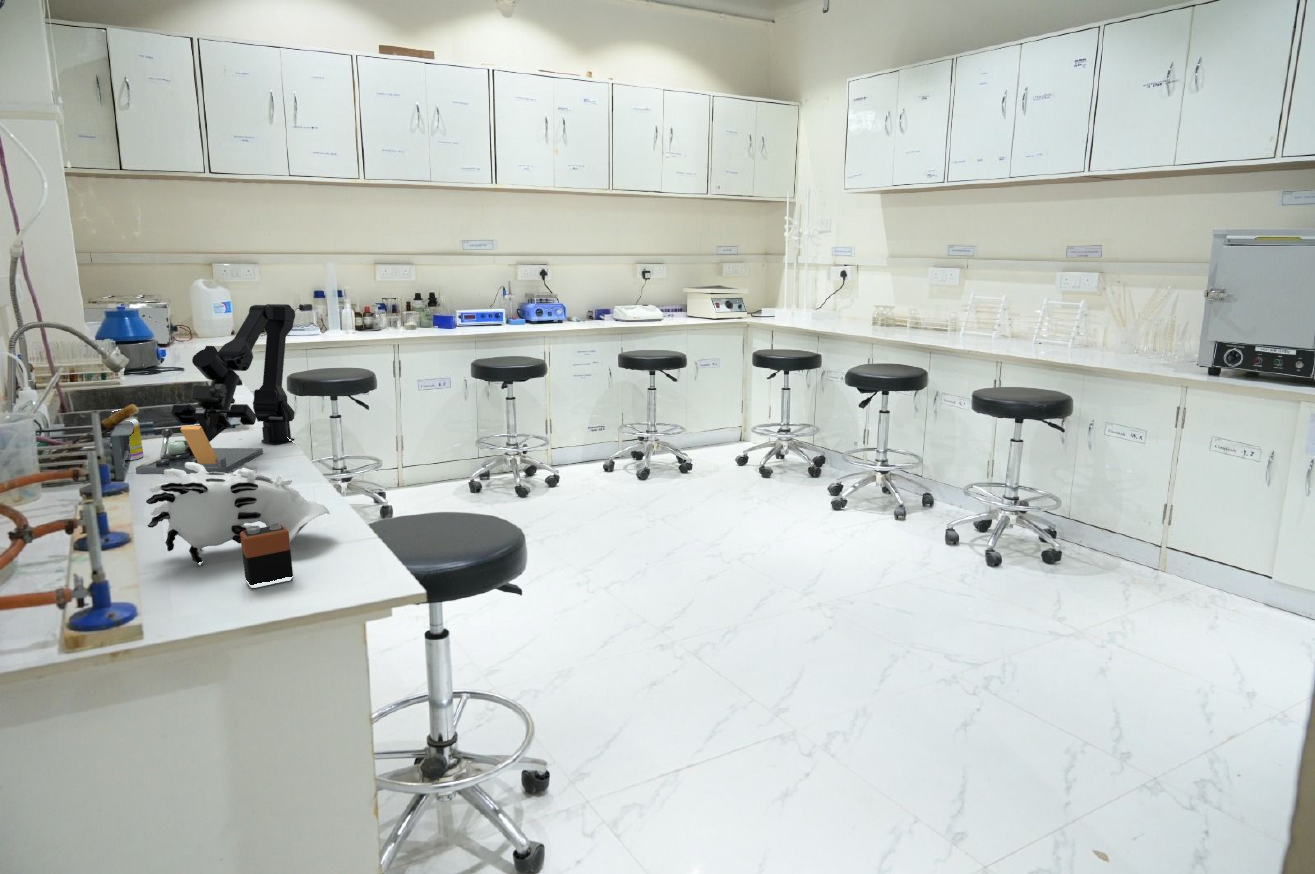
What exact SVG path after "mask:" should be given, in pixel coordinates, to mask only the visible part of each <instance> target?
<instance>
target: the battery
mask: <svg viewBox="0 0 1315 874" xmlns="http://www.w3.org/2000/svg"><path fill="white" fill-rule="evenodd" d="M240 537H241V543H240V545H241V546H240V547H241V553H242V562H243V570H244V579H245V578H246V580H247V581H248V582H249V584H250V585H254V584H257V583H262V582H270V581H273V580H274V581H275V580H277V579H282V578H285V577H292V576H293V577H294V570H293V563H292V561H293V560H292V551H291V541H290V540H289V532H288V530H287V529H286V528H285V527H284V526H283V525H281V524H280V523H273V524H270V526H268V527H267V526H263V527H260V526H259V525H251V526H250V527H247V528H246V531H242V532H241V533H240ZM246 580H245V581H246Z"/></svg>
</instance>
